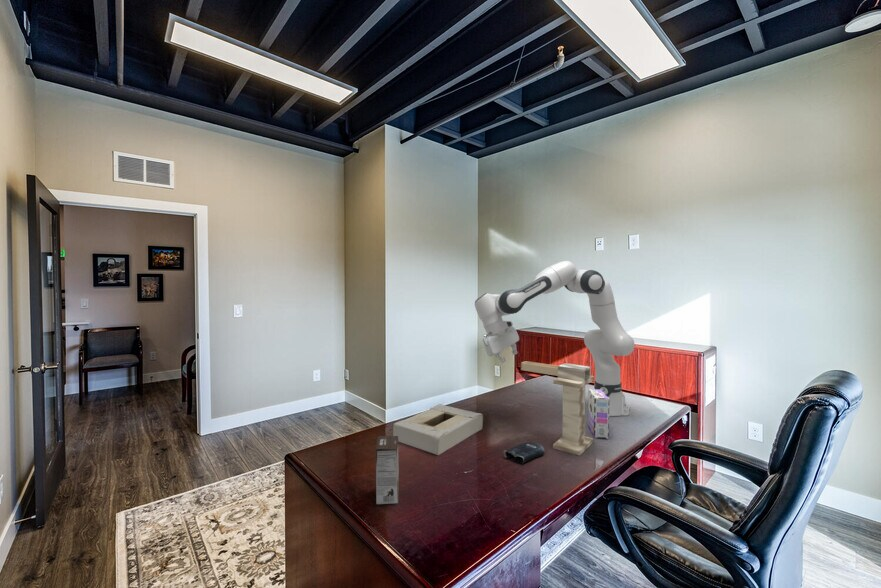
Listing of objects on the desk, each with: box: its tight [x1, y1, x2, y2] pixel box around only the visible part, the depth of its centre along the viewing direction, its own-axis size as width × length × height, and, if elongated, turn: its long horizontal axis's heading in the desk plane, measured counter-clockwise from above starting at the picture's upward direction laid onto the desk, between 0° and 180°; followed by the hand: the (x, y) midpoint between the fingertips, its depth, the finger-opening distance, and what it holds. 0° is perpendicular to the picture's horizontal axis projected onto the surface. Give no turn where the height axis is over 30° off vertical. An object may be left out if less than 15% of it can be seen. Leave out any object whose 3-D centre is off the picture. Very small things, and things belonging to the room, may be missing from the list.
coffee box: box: [375, 435, 400, 505], centre depth 113 cm, size 9×6×16 cm
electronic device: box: [502, 441, 545, 465], centre depth 140 cm, size 9×6×15 cm
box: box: [392, 403, 484, 456], centre depth 159 cm, size 23×8×32 cm
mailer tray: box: [520, 360, 559, 377], centre depth 155 cm, size 4×18×3 cm, turn 50°
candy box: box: [587, 388, 610, 440], centre depth 160 cm, size 14×6×16 cm, turn 168°
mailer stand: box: [552, 362, 595, 456], centre depth 147 cm, size 15×10×30 cm, turn 140°
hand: (509, 358), depth 168 cm, fingers open, 8 cm apart
